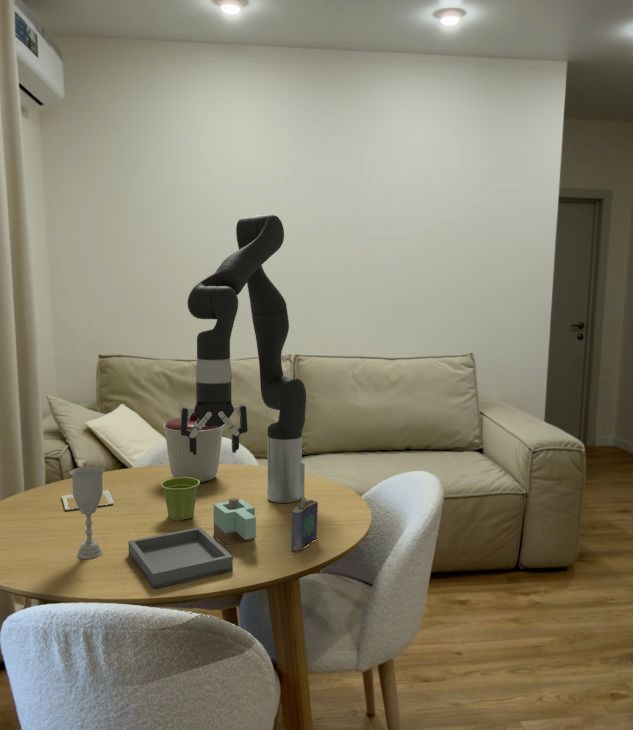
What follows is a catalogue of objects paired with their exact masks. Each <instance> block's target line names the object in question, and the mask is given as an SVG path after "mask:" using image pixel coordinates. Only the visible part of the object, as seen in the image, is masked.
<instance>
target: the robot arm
mask: <svg viewBox="0 0 633 730" xmlns="http://www.w3.org/2000/svg"><path fill="white" fill-rule="evenodd" d="M235 234H236V241H237V247H238V249H237V250H236V251H235V252H233V253H232V254H230V255H229V256H227V257H226V258H225V259H224V260H223V262H221V264H220V265H219V266H218V268H217V269H216V271H215V272H214V273H212V274H210V275H209V276H207V277H206V278H205V279H203V280H201V281H200V282H198V283H197V284H196V285H195V286H194V287H193V288H192V289H191V290H190V293H189V295H188V298H187V309H188V311H189V313H190V315H192V316H193V317H194V318H196V319H199V320H216V322H215V325H214V327H213V328H212V329H209V330H203V331H200V332H198V334H197V336H196V366H195V401H196V402H195V405H194V407H189V406H188V407H187V406H186V405H184V406H182V407H181V410H180V411H181V412H180V417H181V429H180V431H181V435H182V436H187V437H189V449H190V452H191V453H192V452H193V455H197V446H196V435H197V433H198V432H199V431H200V430H201V429H202V427H203V426H204V425H205V426H207V427H212V426H222V425H224V424H225V426H226V427H227V428H228V429H229V430H230V431H231V433H232V434H231V453H233V454H234V453H235V454H236V453H237V451H238V450H239V449H240V435H241V434H244V433H245V434H246V433H248V417H247V416H248V413H247V407H246V405H245V404H243V403H241V404H239V405H233V403H232V379H233V375H232V365H231V336H232V332H233V328H234V324H235V319H236V316H237V314H238V309H239V298H238V295H239V294H240V293H241V292H242V290H243V289H244V287H245V285H246V286H247V290H248V292H247V293H248V297H249V304H250V305H249V306H250V311H251V318H252V324H253V329H254V334H255V335H254V336H255V342H256V348H257V355H258V356H257V357H258V363H259V364H258V365H259V380H260V384H259V385H260V393H261V395H260V396H261V399H262V401H263V403H264V405H265V406H266V407H267V408H269V409H271V410H276V411H279V413H278V415H279V416H278V421H276V422H273V423H270V424H269V425H268V426H267V492H266V493H267V499H268V500H269V502H273V503H277V504H291V503H295V502H298V501H300V500H301V499H303V498H304V497H305V488H306V487H305V484H306V483H305V482H306V481H305V478H306V477H305V476H306V475H305V472H306V471H305V470H306V469H305V467H306V466H305V463H304V462H303V460H302V459H303V457H302V455H303V451H302V450H303V444H302V443H303V439H302V438H303V436H302V435H303V429H304V425H305V422H306V408H307V390H306V386H305V383H304V382H303V381H302V380H301V379H299V378H297V377H292V376H291V377H290V376H286V375H284V371H283V366H282V353H283V349H284V346H285V343H286V341H287V338H288V334H289V329H290V322H289V315H288V308H287V302H286V300H285V297H283V295H282V293H281V292H280V290H279V289H278V288H277V287H276V286H275V284H274V283H273V282H272V280H270V278H269V277H268V275H267V274H266V272H265V270H264V268H263V264H264V263H265V262H267V261H268V260H269V258H271V257H272V256H273V255H274V254H276V252H278V251H279V249H280V248H281V247H282V245H283V243H284V241H285V230H284V225H283V223H282V220H281V219H280V217H279V216H277V215H275V214H270V213H269V214H258V215H252V216H246V217H245V216H244V217H241V218H239V219H238V221H237V223H236V227H235ZM234 412H235V413H236V415H237V416H239V427H236V426H235V424H234V423H233V422H232V421H231V420H230V417H231V416H232V415H233V414H234ZM192 413H195V414H196V416H197V417H198V418H199V419H198V420H197V421H196V423H195V424H194V426H193V427H192V429H191V430H188V429H187V418H189V417H191V414H192ZM300 497H303V498H301V499H300ZM299 499H300V500H299Z"/></svg>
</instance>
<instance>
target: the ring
mask: <svg viewBox="0 0 633 730" xmlns="http://www.w3.org/2000/svg"><path fill="white" fill-rule="evenodd" d="M238 499H239V498H238ZM255 509H256V508H255V507H254V506H253V505H251V504H250V503H248V502H247V501H246V500H244V499H242V498H240V499H239V508H238V509H232V510H229V500H228V501H223V502H217V503H213V525H214V524H215V525H217V526H218V527H219V528H220V529H221V530H222V531H224V532H225V533H229V532H234V531H236V532H237V533H238V534H239V535H241V536H242V537H243V538H244V539H245V540H247V539H252V538H255V539H256V538H257V516H256V514H255Z"/></svg>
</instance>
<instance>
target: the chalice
mask: <svg viewBox="0 0 633 730" xmlns="http://www.w3.org/2000/svg"><path fill="white" fill-rule="evenodd" d="M104 472H105V468H104V467H101V466H96V465H95V466H93V465H92V466H91V465H89V466H88V465H87V466H82V467H77V468H74V469H72V470H70V471H69V475H71V480H72V494H73V497H74V498H73V499H74V501H75V503H76V506H77V508H79V509H78V510H79V511H80V513H81V514H83V515H85V517H86V519H85V523H84V525H85V526H86V530H85V531H84V533H85V534H86V537H87V538H86V540H85V541H84V542H82V543H81V545H80V547H79V550H78V552H77V554H78V555H76V557H77V558H79V559H82V560H83V559H84V560H86V559H88V560H89V559H95V558H97V557H99V556H102V554H103V550H102V549H101V547H100V544H99V542H97V541H95V540H94V539H93V538H92V536H93V532H94V529H92V528H93V527H92V525H93V523H94V522H93V521H92V515H93V514H94V513H96V512H97V509H98V507H99V506H98V505H100V501H101V498H102V495H103V494H102V492H103V491H104V490H103V474H104Z"/></svg>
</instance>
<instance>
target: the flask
mask: <svg viewBox="0 0 633 730" xmlns="http://www.w3.org/2000/svg"><path fill="white" fill-rule="evenodd" d="M301 498H302V499H301ZM300 500H301V501H300ZM298 501H300V503H299V505H298V506H296V507H295V508H294V509H292V510H291V545H290V546H291V547H290V548H291V551H292V550H293V551H294V552H296V551H299V552H302V551H303V550H304V549H305V548H304V547H305V546H307V545H308V544H309V543H311V542H312V541H314V540H316V539H317V540H318V537H317V535H318V533H317V532H318V528H317V527H318V511H319V510H318V508H319V507H318V505H319V503H318V501H317V500H313V499H307V498H306V497H305V496H304V498H303V497H300V499H299V500H298ZM317 540H316V541H317ZM314 542H315V541H314ZM312 543H313V542H312ZM312 543H311V544H312ZM309 545H310V544H309ZM303 548H304V549H303ZM302 549H303V550H302ZM301 550H302V551H301Z"/></svg>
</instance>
